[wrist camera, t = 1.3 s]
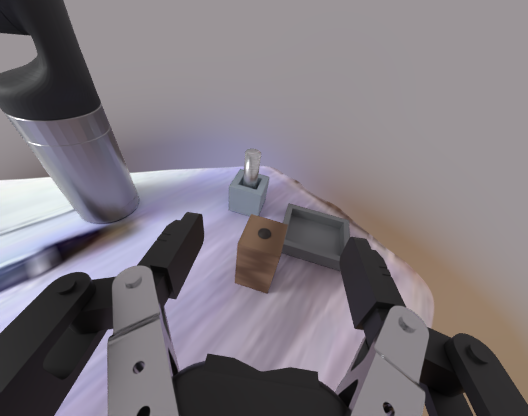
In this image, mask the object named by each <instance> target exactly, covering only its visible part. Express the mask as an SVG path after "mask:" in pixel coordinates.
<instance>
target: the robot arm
mask: <svg viewBox="0 0 528 416" xmlns="http://www.w3.org/2000/svg"><path fill="white" fill-rule="evenodd" d="M0 33H7V34H19V35H31V36H32V39H33V41H34V43H35V46H36V49H37V53H38V56H37V57H36V58H35V59H34V60H33V61H32V62H30V63H28V64H27V65H24V66H22V67H19V68H15V69H12V70H9V71H6V72H3V73H0V108H1V109H2V111H3V112H4V113H5V115H6V116H7V117H8V119H9V120H10V122H11V123H12V124H13V126H14V127H15V128H16V130H17V131H18V132H19V134H20V135H21V136H22V138H23V139H24V140H25V142H26V143H27V144H28V146H29V147H30V148H31V150H32V151H33V152H34V154H35V155H36V157H37V158H38V159H39V161H40V162H41V164H42V166H43V167H44V168H45V170H46V171H47V173H48V174H49V175H50V177H51V178H52V179H53V181H54V182H55V183H56V185H57V186H58V188H59V189H60V190H61V192H62V193H63V194H64V196H65V197H66V198H67V200H68V201H69V202H70V204H71V205H72V206H73V208H74V209H75V210H76V211H77V212H78V214H79V215H80V216H81V217H82V219H84V220H85V221H88V222H91V223H109V222H113V221H117V220H120V219H122V218H124V217H126V216H128V215H129V214H130V213H132V212H133V211H134V210H135V209H136V208H137V206H138V204H139V196H138V194H137V191H136V189H135V186H134V184H133V181H132V178H131V176H130V173H129V171H128V168H127V166H126V163H125V161H124V158H123V156H122V153H121V151H120V149H119V146H118V144H117V141H116V139H115V136H114V134H113V131H112V129H111V126H110V124H109V121H108V119H107V116H106V114H105V112H104V109H103V106H102V104H101V101H100V99H99V96H98V94H97V92H96V89H95V87H94V84H93V81H92V78H91V76H90V73H89V70H88V68H87V65H86V63H85V60H84V58H83V55H82V53H81V50H80V47H79V44H78V42H77V39H76V36H75V34H74V31H73V28H72V25H71V22H70V19H69V16H68V13H67V10H66V7H65V4H64V1H63V0H0ZM203 241H204V227H203V217H202V214H198V213H191V212H187V213H186V214H185V215H184V216H183V218H182V219H181V221H180V220H175V221H173V222H172V223H170V224H169V225H167V227H166V228H165V229H164V230H163V232H162V234H160V236H159V237H158V238H157V241H155V242H154V244H153V245H152V246H151V248H150V249H149V250H148V252H147V253H146V254H145V256H144V257H143V258H142V260H141V261H140V262H139V264H138V265H137V266H133V267H130V268H128V269H126V270H124V271H122V272H121V273H120V274H119V275H118V276H117V277H110V278H103V279H95V280H91V278H90V277H89V275H88V274H86V273H83V272H74V273H70V274H67V275H64V276H62V277H60V278H58V279H56V280H55V281H53V282H52V283H51V284H50V285H49V286H47V287H46V288H45V289H44V290H43V291H42V292H41V293H40V294H39V295H38V296H37V297H36V298H35V299H34V300H33V301H32V302H31V303H30V304H29V305H28V306H27V307H26V308H25V309H24V310H23V311H22V312H21V313H20V314H19V315H18V316H17V317H16V318H15V319H14V320H13V321H12V322H11V323H10V324H9V325H8V326H7V327H6V328H5V329H4V330H3V331H2V332H1V333H0V416H54V415H55V413H56V412H57V410H58V409H59V407H60V405H61V404H62V402H63V401H64V399H65V397H66V396H67V394H68V392H69V391H70V389H71V388H72V386H73V384H74V383H75V381H76V380H77V378H78V376H79V375H80V373H81V372H82V370H83V368H84V367H85V365H86V364H87V362H88V360H89V359H90V357H91V356H92V354H93V352H94V351H95V349H96V347H97V346H98V344H99V343H100V341H101V339H102V338H103V336H104V335H105V333H106V331H107V330H108V329H113V335H112V336H110V337H109V339H108V345H107V365H108V416H422V413H423V407H424V403H425V406H426V409H427V412H428V414H429V416H473V414H472V412H471V410H470V408H469V405H468V403H467V401H466V399H465V397H464V395H463V393H466V395H467V397H468V399H469V401H470V403H471V405H472V407H473V409H474V411H475V413H476V415H477V416H528V404H527V403H526V401H525V400H524V398H523V397H522V395H521V394H520V392H519V391H518V389H517V388H516V386H515V385H514V383H513V382H512V380H511V378H510V377H509V375H508V374H507V372H506V371H505V369H504V368H503V366H502V365H501V363H500V361H499V360H498V358H497V357H496V356H495V354H494V353H493V352H492V351H491V350H490V349H489V348H488V347H487V346H486V345H485V344H483V343H482V342H481V341H479V340H478V339H476V338H474V337H472V336H470V335H468V334H463V333H459V334H457V335H455V336H453V337H452V338H451V337H448V336H446V335H444V334H441V333H439V332H437V331H435V330H433V329H431V328H428V327H427V326H426V324H425V323H424V321H423V320H422V319H421V318H420V317H419V316H418V315H417V314H416V313H415V312H413V311H412V310H410V309H408V308H406V306H405V304H404V302H403V299H402V297H401V295H400V293H399V291H398V289H397V287H396V285H395V283H394V280H393V278H392V277H391V274H390V272H389V270H388V269H387V266H386V264H385V261H384V259H383V258H382V257H381V256H380V255H379V254H378V252H377V251H376V250H371V247H370V245H369V243H368V241H367V239H363V238H356V237H350V238H349V240H348V242H347V244H346V246H345V248H344V250H343V252H342V254H341V256H340V261H339V265H340V270H341V274H342V279H343V283H344V287H345V291H346V295H347V299H348V303H349V308H350V312H351V316H352V320H353V324H354V328H355V329H360V330H364V333H365V337H364V339H363V340H362V342H361V344H360V347H359V349H358V351H357V353H356V355H355V357H354V359H353V361H352V363H351V365H350V367H349V369H348V371H347V373H346V375H345V377H344V378H343V380H342V381H341V382H340V384H339V386H338V387H337V389H336V391H335V392H334V391H333V390H331V389H330V388H329V387H328V386H326V385H325V384H323V383H322V382H320V381H318V372H316V371H310V370H303V369H297V368H291V367H289V368H283V369H277V370H271V371H265V372H262V371H258V370H256V369H255V368H253V367H251V366H249V365H247V364H245V363H243V362H241V361H239V360H237V359H235V358H231V357H225V356H219V355H213V354H207V357H206V361H203V362H199V363H196V364H193V365H191V366H188V367H186V368H185V369H183V370H181V371H179V366H178V362H177V358H176V354H175V351H174V347H173V343H172V339H171V334H170V330H169V325H168V321H167V316H166V312H165V307H164V305H165V303H166V302H167V300H168V298H171V299H176V298H177V296H178V294H179V292H180V290H181V288H182V286H183V284H184V282H185V280H186V278H187V276H188V274H189V272H190V269H191V267H192V265H193V263H194V261H195V259H196V257H197V255H198V253H199V251H200V249H201V247H202V244H203Z"/></svg>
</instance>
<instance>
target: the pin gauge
mask: <svg viewBox="0 0 528 416" xmlns="http://www.w3.org/2000/svg"><path fill="white" fill-rule="evenodd" d="M260 158H261V152H260V151H258V150H256V149H248V150H246V153H245V165H244V178H243V186H245V187H249V188H252V189H256V187H257V180H258V173H259V166H260Z"/></svg>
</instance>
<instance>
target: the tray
mask: <svg viewBox="0 0 528 416" xmlns="http://www.w3.org/2000/svg"><path fill="white" fill-rule="evenodd" d="M283 223H284V224H287V225H288V227H287V231H286V235H285V239H284V243H283V248H282V252H281V253H284V254H287V255H290V256H293V257H297V258H300V259H303V260H306V261H309V262H313V263H316V264H319V265H322V266H326V267H329V268H332V269H335V270H339V271H341V270H340V265H339V261H340V256H341V254H342V252H343V250H344V248H345V246H346V244H347V242H348V240H349V238H350V231H349V220H346V219H342V218H339V217H335V216H332V215H328V214H325V213H321V212H318V211H314V210H310V209H307V208H303V207H300V206H296V205H293V204H288V207H287V210H286V214H285V217H284V221H283Z"/></svg>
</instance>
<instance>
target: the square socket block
mask: <svg viewBox="0 0 528 416" xmlns="http://www.w3.org/2000/svg"><path fill="white" fill-rule="evenodd" d="M243 178H244V170H243V169H240V171H239V172H238V174H237V175H236V177H235V178H234V180H233V181H232V183H231V184H230V186H229V210H230V211H234V212H237V213H240V214H244V215H247V216H250V215H251V214H253V215H256V216H259V214H260V211H261V209H262V206H263V204H264V201H265V198H266V193H267V188H268V183H269V177H268V176H265V175H261V174H258V180H257V187H256V189H252V188H249V187H245V186H243Z"/></svg>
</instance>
